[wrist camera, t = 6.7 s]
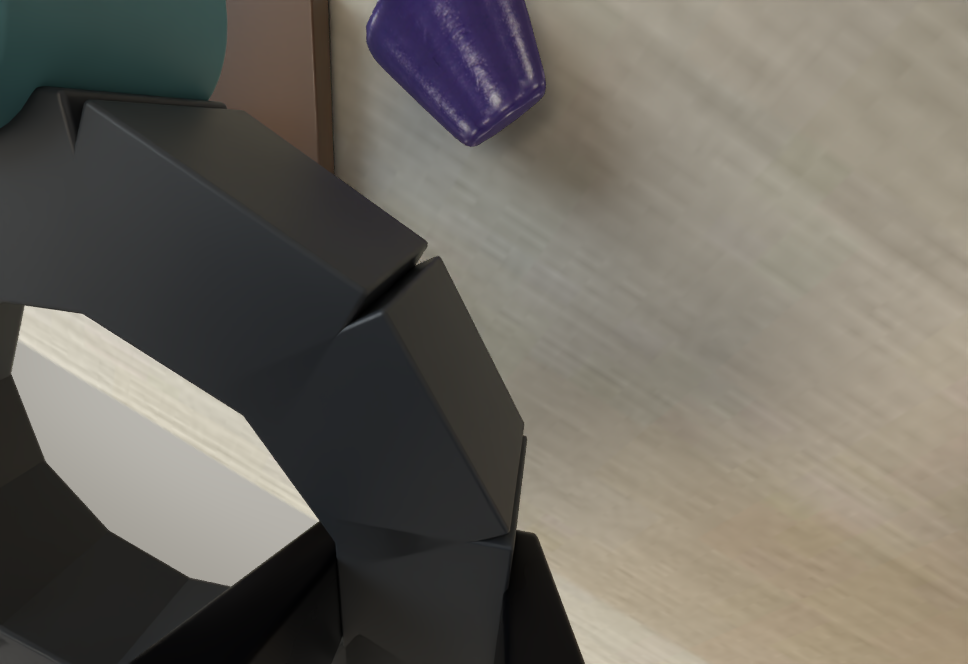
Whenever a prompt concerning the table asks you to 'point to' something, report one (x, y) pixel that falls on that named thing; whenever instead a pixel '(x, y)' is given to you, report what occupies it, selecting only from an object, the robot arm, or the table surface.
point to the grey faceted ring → (237, 344)
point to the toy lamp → (461, 60)
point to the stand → (281, 71)
